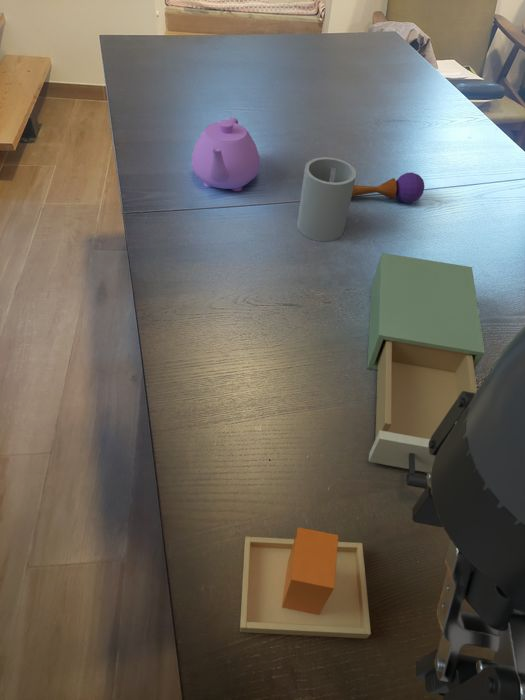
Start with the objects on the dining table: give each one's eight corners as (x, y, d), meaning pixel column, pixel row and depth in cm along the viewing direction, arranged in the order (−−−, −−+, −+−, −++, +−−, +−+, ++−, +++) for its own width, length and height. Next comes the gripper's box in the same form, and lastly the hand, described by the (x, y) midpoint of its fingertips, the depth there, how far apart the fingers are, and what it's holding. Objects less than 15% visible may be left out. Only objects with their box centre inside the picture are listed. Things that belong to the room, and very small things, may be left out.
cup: (303, 243, 96) (312, 185, 86) (292, 214, 101) (299, 158, 92) (349, 239, 97) (363, 183, 88) (336, 212, 103) (347, 156, 94)
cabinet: (464, 385, 76) (485, 352, 70) (367, 368, 77) (379, 334, 71) (455, 301, 88) (472, 266, 82) (371, 287, 89) (381, 252, 83)
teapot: (249, 212, 101) (252, 154, 92) (179, 202, 102) (175, 144, 92) (265, 161, 114) (269, 106, 105) (203, 153, 115) (201, 97, 105)
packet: (319, 615, 54) (334, 588, 46) (281, 607, 54) (291, 579, 47) (323, 566, 57) (338, 534, 50) (288, 559, 57) (298, 527, 50)
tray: (358, 549, 59) (362, 542, 57) (366, 638, 53) (371, 634, 51) (244, 542, 58) (245, 536, 57) (239, 632, 52) (240, 627, 51)
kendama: (325, 172, 105) (421, 167, 106) (324, 200, 109) (416, 195, 109) (330, 182, 100) (430, 178, 101) (328, 211, 104) (425, 206, 105)
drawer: (477, 512, 62) (497, 491, 57) (367, 492, 63) (378, 469, 58) (462, 374, 76) (477, 349, 71) (372, 359, 77) (381, 333, 72)
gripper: (810, 732, 12) (515, 759, 25) (632, 319, 22) (482, 489, 34) (496, 667, 13) (360, 725, 25) (454, 290, 22) (370, 468, 34)
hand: (430, 589), depth 29 cm, fingers open, 8 cm apart
